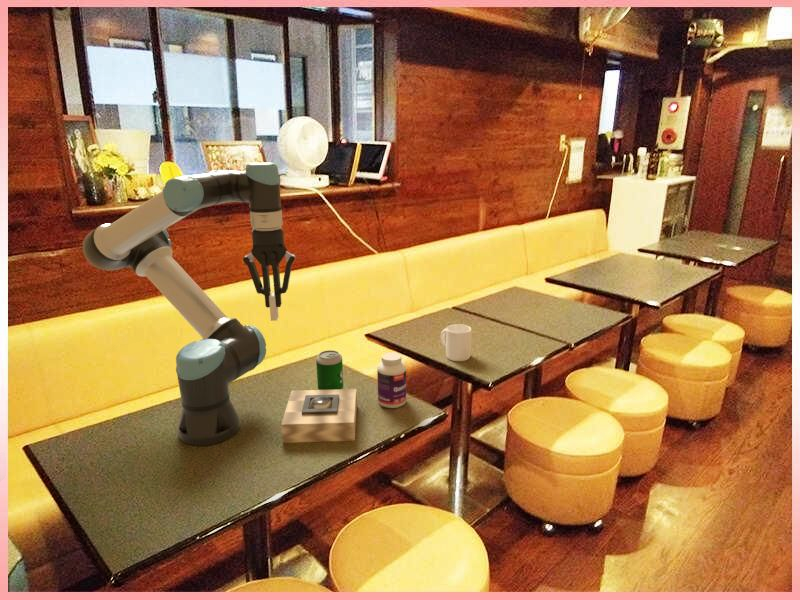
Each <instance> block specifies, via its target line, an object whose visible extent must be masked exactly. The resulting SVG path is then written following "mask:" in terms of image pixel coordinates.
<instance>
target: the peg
mask: <svg viewBox="0 0 800 600" xmlns="http://www.w3.org/2000/svg"><path fill="white" fill-rule="evenodd" d="M311 407H312V409H324V408H331V403H330V399H329V398H327V397H317V398H314V399H313V400H312V401H311Z"/></svg>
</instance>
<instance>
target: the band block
mask: <svg viewBox="0 0 800 600" xmlns="http://www.w3.org/2000/svg"><path fill="white" fill-rule="evenodd" d="M357 395H358V394H357V388H343V389H335V390H318V389H311V390H310V389H304V390H302V389H301V390H298V389H297V390H291V392H290V395H289V398H288V401H287V404H286V409H285V411H284V414H283V417H282V421H281V424H280V426H281V437H282V443H283V444H284V443H285V444H286V443H287V444H288V443H291V444H292V443H313V442H314V443H315V442H316V443H318V442H319V443H320V442H322V441H323V443H325V442H350V441H351V442H352V441H353V442H355V440H356V426H357V423H356V422H357V410H358V409H357V408H358V401H357V400H358V399H357V397H358V396H357ZM317 397H327V398H329V399H330V403H331V408H324V409H312V407H311V401H312V400H313V399H314V398H317Z"/></svg>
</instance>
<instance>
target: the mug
mask: <svg viewBox="0 0 800 600" xmlns="http://www.w3.org/2000/svg"><path fill="white" fill-rule="evenodd" d="M445 335H446V336H445ZM440 342H441V343H440V344H441V345H442V346H443V347H444V348H445V356H446V358H447V359H448V360H450V361H453V362H465V361H467V360H469V359H470V358H471V354H472V352H471V350H472V327H470V326H469V325H466V324H462V323H458V324H457V323H455V324H450V325H448V326H446V327H445V328H444V329H443V330H442V331H441V333H440Z"/></svg>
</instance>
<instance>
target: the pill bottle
mask: <svg viewBox="0 0 800 600" xmlns="http://www.w3.org/2000/svg"><path fill="white" fill-rule="evenodd" d="M402 360H403V359H402V354H400V353H398V352H385V353H384V354H382V355H381V362H380V363H379V364H378V365H377V369H376V370H377V372H376V373H377V374H376V375H377V401H378V405H380V406H381V407H383V408H387V409H397V408H400V407H402V406H404V405H405V404H406V401H407V366H406V364H405V363H404V362H403V361H402Z"/></svg>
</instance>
